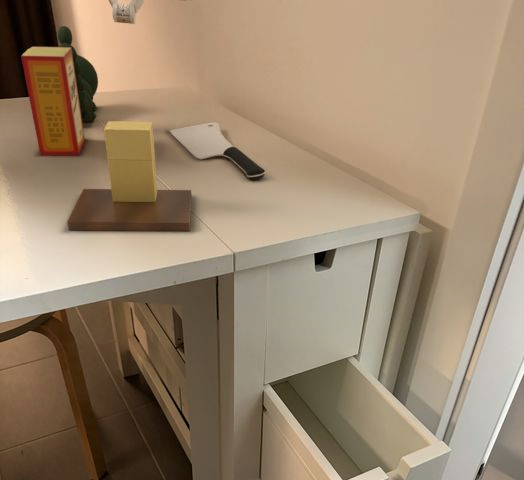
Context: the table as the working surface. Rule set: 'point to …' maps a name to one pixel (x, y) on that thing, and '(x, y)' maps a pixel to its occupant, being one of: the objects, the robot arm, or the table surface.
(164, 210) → the butter board
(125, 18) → the robot arm
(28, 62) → the baking soda box
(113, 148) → the block
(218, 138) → the kitchen cleaver
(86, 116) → the toy figurine
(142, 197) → the base
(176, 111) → the table surface
